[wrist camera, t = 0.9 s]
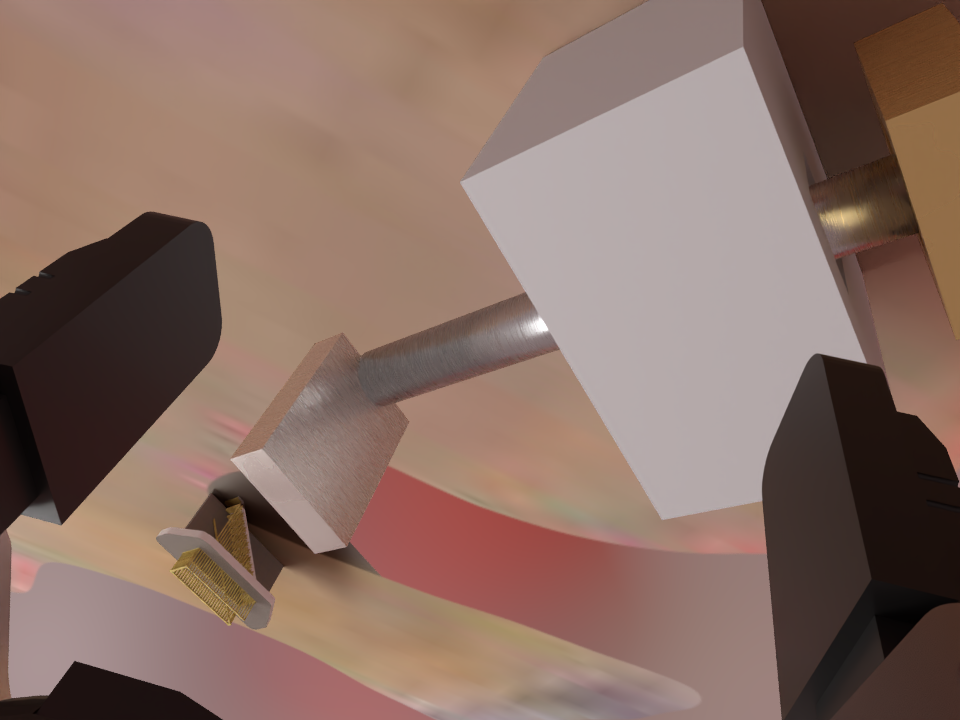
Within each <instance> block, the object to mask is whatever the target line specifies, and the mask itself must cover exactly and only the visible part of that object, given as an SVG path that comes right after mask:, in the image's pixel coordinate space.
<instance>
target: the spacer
mask: <svg viewBox="0 0 960 720" xmlns="http://www.w3.org/2000/svg"><path fill="white" fill-rule="evenodd" d="M854 46H855V49H856V52H857V55H858V58H859V61H860V64H861V67H862V70H863V73H864V76H865V79H866V82H867V85H868V88H869V91H870V95H871V98H872V101H873V104H874V107H875V110H876V113H877V116H878V119H879V122H880V125H881V128H882V131H883V134H884V137H885V140H886V144H887V147H888V150H889V153H890V155H893V154H894V155H895V158H896V161H897V164H898V167H899V170H900V173H901V176H902V179H903V182H904V185H905V189H906V192H907V195H908V198H909V201H910V204H911V207H912V210H913V213H914V216H915V219H916V223H917V226H918V229H919V233H916V234H917V237H918V240H919V242H920V245H921V248H922V250H923V253H924V256H925V258H926V261H927V264H928V266H929V269H930V272H931V274H932V277H933V280H934V282H935V285H936V288H937V290H938V293H939V296H940V298H941V301H942V304H943V306H944V309H945V312H946V314H947V317H948V320H949V322H950V325H951V328H952V331H953V333H954V336H955V339H956V340H959V339H960V24H959V22H958V21H957V20H956V19H955V18H954V16H953V15H952V14H951V13H950V12H949V10H948V9H947V8H946V7H945V6H944V5H943V3H941V4H939V5H937V6H934V7H932V8H930V9H928V10H925V11H923V12H921V13H919V14H917V15H914V16H912V17H910V18H908V19H905V20H903V21H901V22H899V23H897V24H894V25H892V26H890V27H888V28H885V29H883V30H881V31H879V32H877V33H874V34H872V35H870V36H868V37H865V38H863V39H861V40H859V41H857V42H854Z"/></svg>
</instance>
